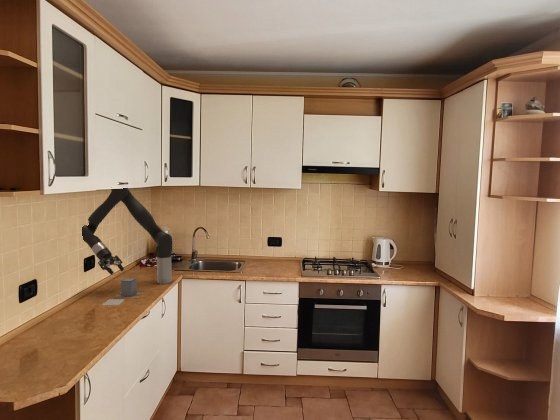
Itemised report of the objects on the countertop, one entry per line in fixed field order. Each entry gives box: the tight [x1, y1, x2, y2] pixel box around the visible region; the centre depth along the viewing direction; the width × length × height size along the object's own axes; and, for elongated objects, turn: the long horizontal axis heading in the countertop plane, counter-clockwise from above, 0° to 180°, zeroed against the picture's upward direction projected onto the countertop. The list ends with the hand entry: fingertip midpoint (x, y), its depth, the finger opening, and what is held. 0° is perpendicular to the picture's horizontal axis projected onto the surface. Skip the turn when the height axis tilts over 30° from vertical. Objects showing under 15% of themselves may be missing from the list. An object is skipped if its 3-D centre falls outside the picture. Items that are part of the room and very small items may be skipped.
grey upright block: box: [120, 277, 138, 297], centre depth 221 cm, size 6×6×9 cm
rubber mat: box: [102, 298, 126, 306], centre depth 209 cm, size 9×9×1 cm
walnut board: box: [112, 290, 146, 300], centre depth 222 cm, size 14×14×1 cm
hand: (117, 272), depth 223 cm, fingers open, 8 cm apart
